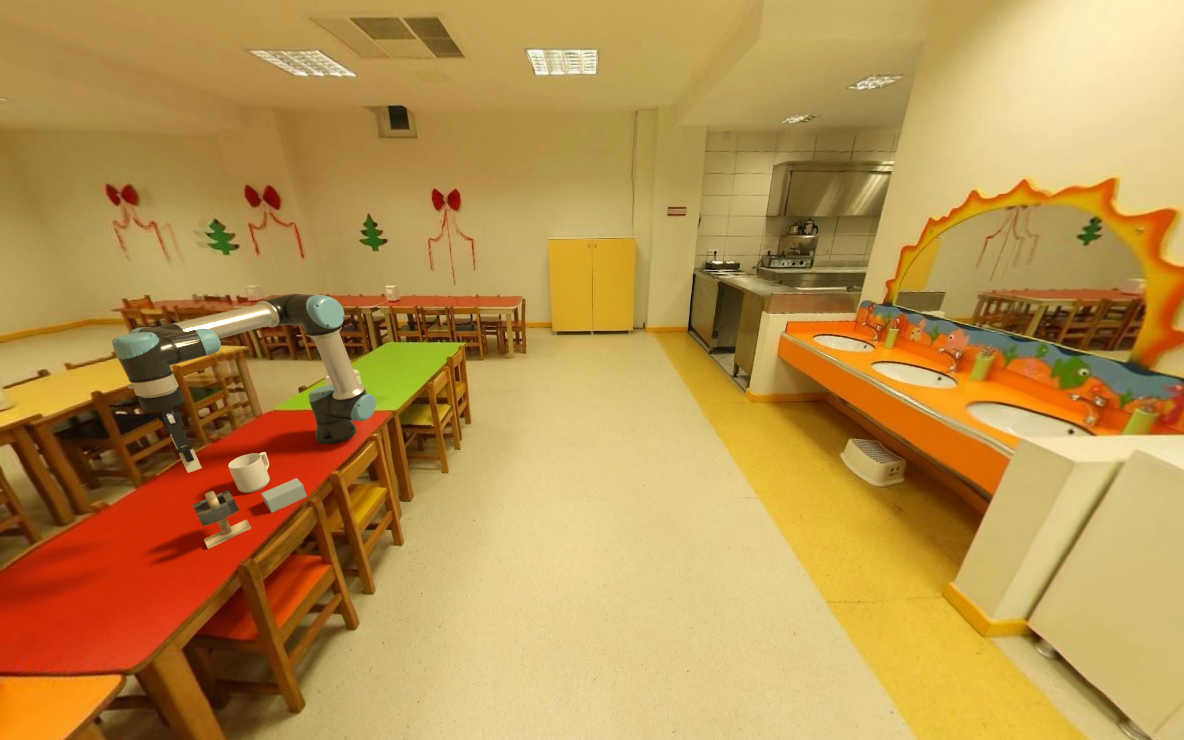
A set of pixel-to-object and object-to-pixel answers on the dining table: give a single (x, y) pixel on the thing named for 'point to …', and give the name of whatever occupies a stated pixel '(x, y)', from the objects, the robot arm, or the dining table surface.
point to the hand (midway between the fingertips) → (190, 460)
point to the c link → (215, 508)
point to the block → (284, 495)
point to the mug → (250, 472)
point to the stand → (223, 525)
